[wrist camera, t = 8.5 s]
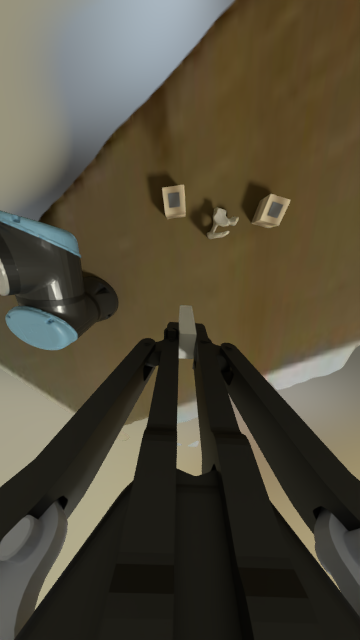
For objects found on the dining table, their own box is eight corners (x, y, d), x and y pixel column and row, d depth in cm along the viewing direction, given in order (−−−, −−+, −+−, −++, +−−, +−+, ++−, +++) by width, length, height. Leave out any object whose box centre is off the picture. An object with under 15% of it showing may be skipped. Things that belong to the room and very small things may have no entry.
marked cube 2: (167, 218, 38) (165, 214, 33) (164, 195, 36) (161, 187, 31) (185, 216, 38) (185, 212, 33) (183, 192, 35) (184, 184, 31)
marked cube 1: (251, 223, 38) (260, 219, 33) (259, 200, 36) (271, 193, 31) (267, 228, 39) (279, 225, 34) (277, 206, 36) (291, 199, 32)
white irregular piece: (231, 193, 34) (247, 209, 29) (233, 220, 39) (247, 238, 34) (198, 212, 36) (208, 230, 31) (204, 235, 42) (213, 254, 36)
